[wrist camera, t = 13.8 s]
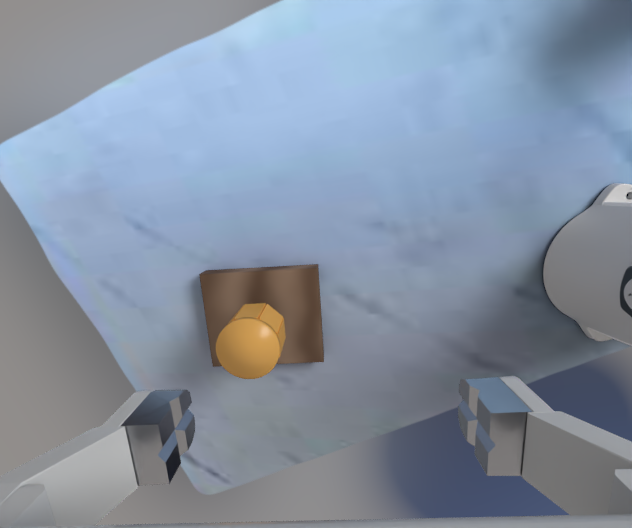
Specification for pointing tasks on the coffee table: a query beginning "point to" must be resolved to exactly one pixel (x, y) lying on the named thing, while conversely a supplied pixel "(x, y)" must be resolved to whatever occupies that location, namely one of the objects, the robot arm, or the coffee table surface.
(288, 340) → the wooden peg stand
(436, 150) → the coffee table surface
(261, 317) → the domed octagonal prism
